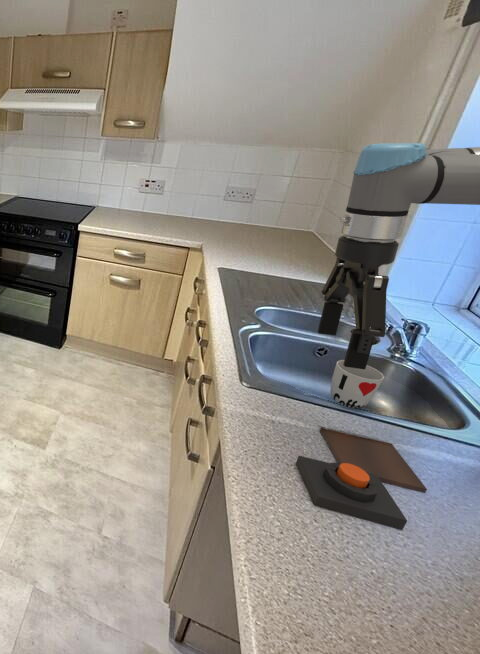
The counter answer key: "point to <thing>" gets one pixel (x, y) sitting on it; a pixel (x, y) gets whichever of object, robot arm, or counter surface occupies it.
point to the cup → (354, 385)
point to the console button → (353, 475)
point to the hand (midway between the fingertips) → (339, 349)
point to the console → (349, 494)
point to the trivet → (373, 458)
